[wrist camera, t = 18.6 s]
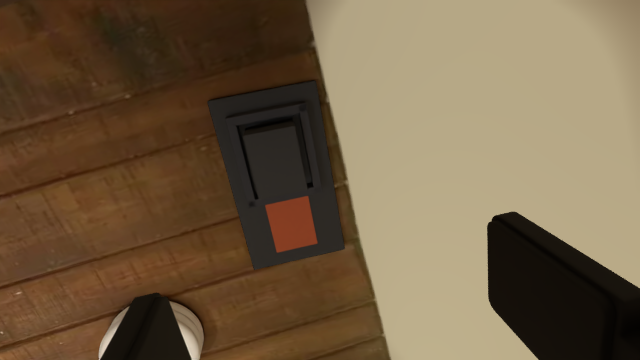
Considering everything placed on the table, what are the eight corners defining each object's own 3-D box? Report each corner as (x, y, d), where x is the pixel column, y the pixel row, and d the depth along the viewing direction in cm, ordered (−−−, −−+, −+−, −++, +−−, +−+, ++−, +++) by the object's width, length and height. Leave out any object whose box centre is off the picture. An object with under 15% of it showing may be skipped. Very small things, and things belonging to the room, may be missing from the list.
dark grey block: (244, 128, 33) (242, 135, 30) (292, 118, 34) (295, 125, 30) (259, 187, 35) (258, 200, 32) (304, 178, 36) (307, 190, 32)
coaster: (124, 286, 38) (111, 308, 35) (216, 310, 40) (212, 333, 37) (100, 358, 40) (85, 385, 37) (188, 377, 43) (182, 403, 39)
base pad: (208, 100, 33) (204, 103, 31) (314, 80, 34) (318, 81, 31) (254, 264, 39) (253, 278, 37) (343, 244, 40) (347, 256, 38)
